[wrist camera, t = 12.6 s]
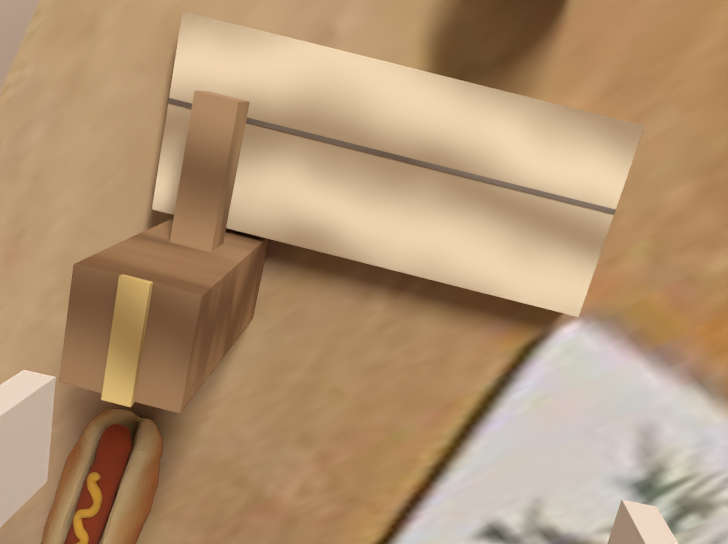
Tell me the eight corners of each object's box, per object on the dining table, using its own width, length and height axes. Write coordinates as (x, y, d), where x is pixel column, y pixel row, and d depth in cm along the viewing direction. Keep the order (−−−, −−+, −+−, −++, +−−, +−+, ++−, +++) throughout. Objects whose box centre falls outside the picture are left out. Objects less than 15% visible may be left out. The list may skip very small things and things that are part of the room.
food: (123, 591, 43) (86, 652, 38) (45, 559, 43) (-2, 616, 38) (191, 417, 40) (159, 460, 35) (106, 381, 39) (63, 420, 35)
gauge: (252, 319, 37) (177, 419, 26) (168, 298, 38) (54, 387, 26) (295, 108, 34) (233, 111, 22) (204, 86, 34) (93, 76, 23)
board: (569, 305, 36) (578, 317, 34) (165, 203, 36) (151, 209, 34) (631, 124, 33) (645, 125, 31) (196, 16, 34) (181, 10, 32)
